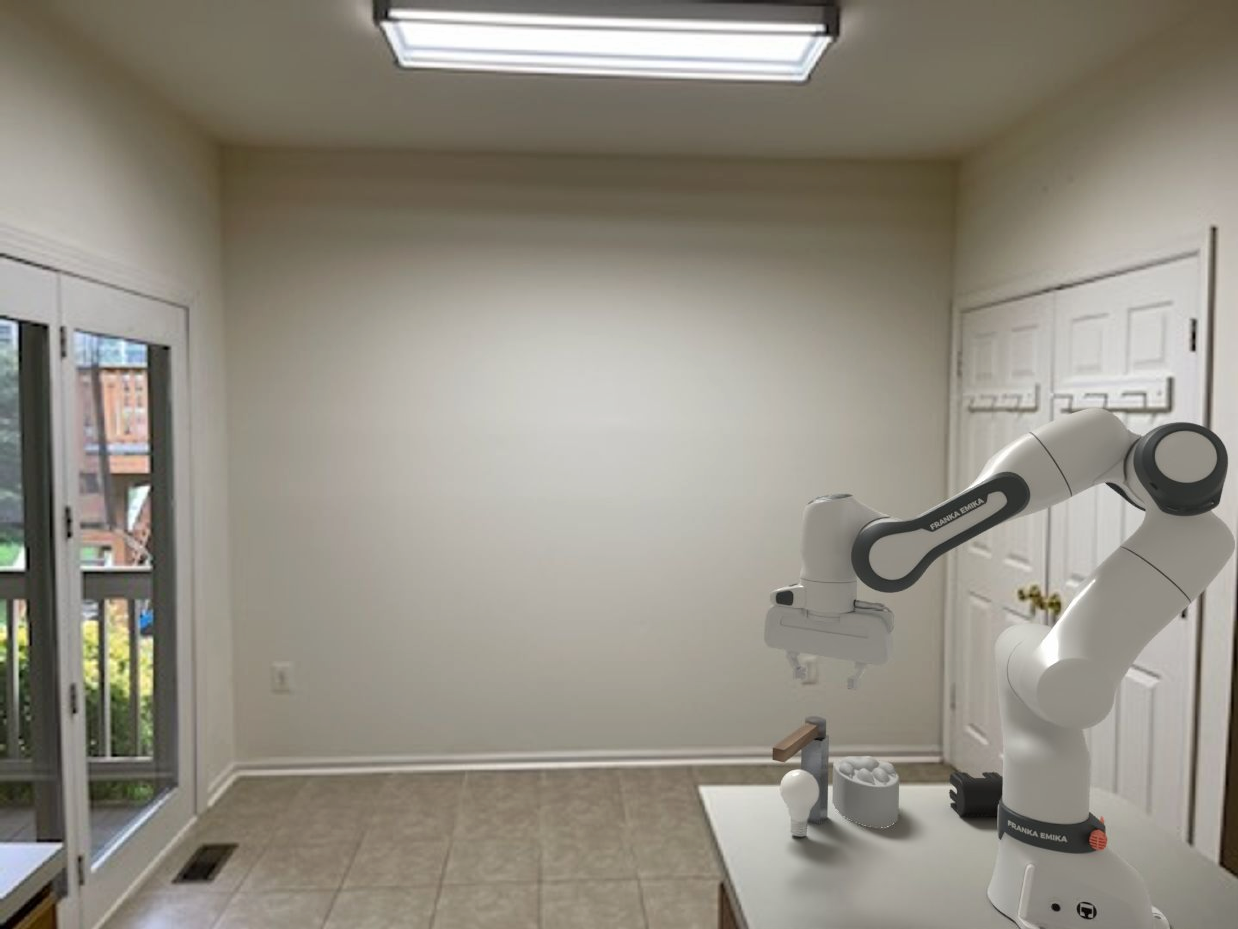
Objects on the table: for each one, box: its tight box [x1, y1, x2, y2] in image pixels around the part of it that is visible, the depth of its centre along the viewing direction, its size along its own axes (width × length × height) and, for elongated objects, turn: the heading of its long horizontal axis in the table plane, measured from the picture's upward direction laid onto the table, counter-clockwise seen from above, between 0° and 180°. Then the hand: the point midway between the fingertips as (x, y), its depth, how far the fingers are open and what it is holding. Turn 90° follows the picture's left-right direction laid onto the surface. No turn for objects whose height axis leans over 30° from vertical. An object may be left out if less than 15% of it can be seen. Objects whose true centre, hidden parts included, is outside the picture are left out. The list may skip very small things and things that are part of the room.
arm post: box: [800, 734, 830, 825], centre depth 148 cm, size 4×4×14 cm
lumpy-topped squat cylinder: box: [831, 755, 900, 829], centre depth 151 cm, size 10×13×9 cm
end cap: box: [948, 771, 1003, 817], centre depth 151 cm, size 10×7×7 cm
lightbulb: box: [779, 768, 819, 838], centre depth 141 cm, size 6×6×11 cm
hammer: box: [772, 715, 827, 763], centre depth 142 cm, size 4×18×3 cm, turn 146°
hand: (825, 683), depth 134 cm, fingers open, 8 cm apart
